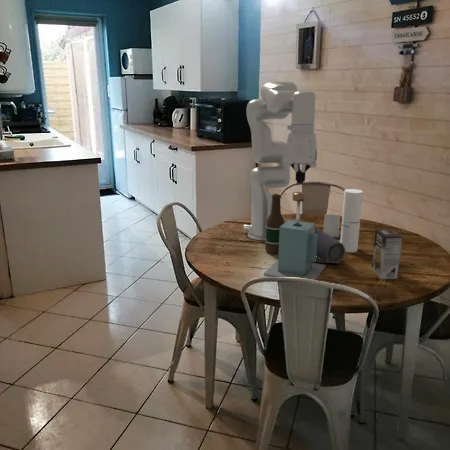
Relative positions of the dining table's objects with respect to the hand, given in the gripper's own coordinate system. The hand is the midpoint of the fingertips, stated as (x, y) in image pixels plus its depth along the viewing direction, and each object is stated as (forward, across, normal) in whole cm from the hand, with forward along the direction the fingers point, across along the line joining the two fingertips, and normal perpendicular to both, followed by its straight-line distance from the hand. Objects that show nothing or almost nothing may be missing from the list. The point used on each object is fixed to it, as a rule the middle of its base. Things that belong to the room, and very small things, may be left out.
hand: (300, 183), depth 160 cm
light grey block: (+33, +1, +48) cm, 58 cm away
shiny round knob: (+20, 0, +1) cm, 20 cm away
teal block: (+33, -1, +1) cm, 33 cm away
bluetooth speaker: (+33, +3, +20) cm, 39 cm away
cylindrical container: (+33, +12, +33) cm, 48 cm away
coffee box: (+33, +29, +12) cm, 46 cm away
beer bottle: (+33, -15, +17) cm, 40 cm away
